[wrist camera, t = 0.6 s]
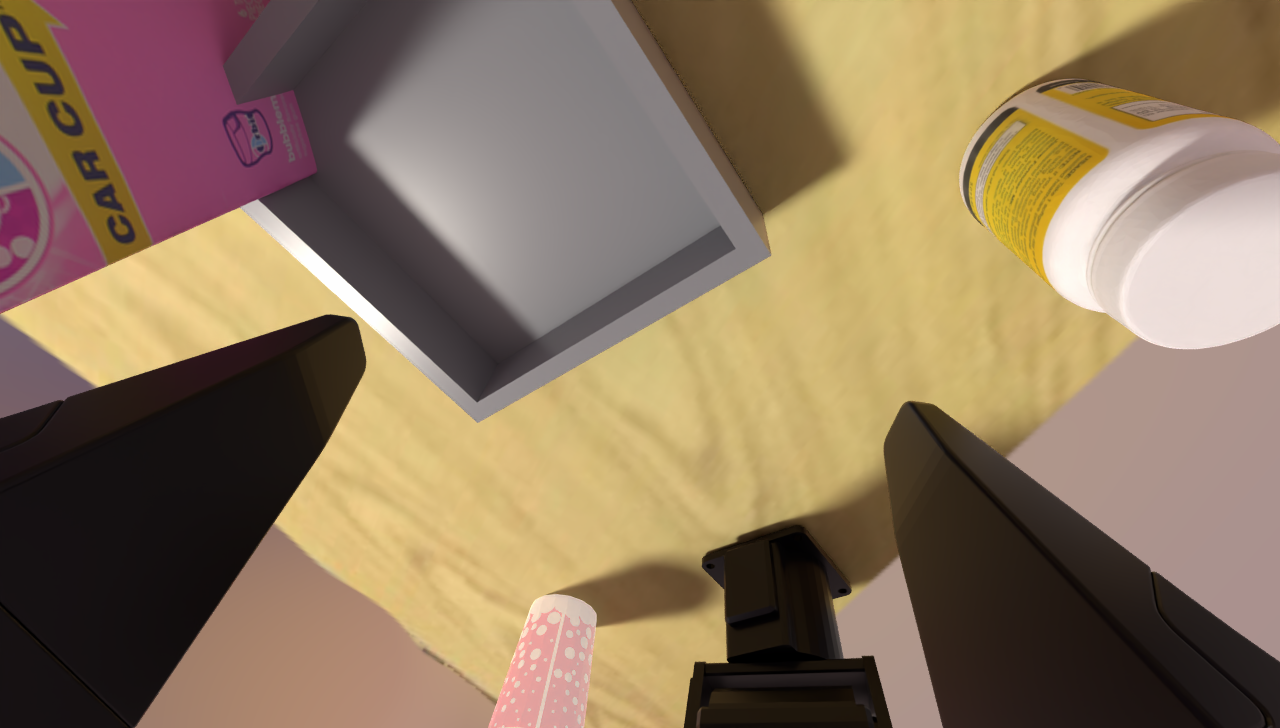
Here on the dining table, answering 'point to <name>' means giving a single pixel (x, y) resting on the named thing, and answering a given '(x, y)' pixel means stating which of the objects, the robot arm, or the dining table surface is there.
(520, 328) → the tray
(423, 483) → the dining table surface
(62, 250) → the gum box
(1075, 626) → the robot arm
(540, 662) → the beverage cup
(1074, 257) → the supplement bottle
